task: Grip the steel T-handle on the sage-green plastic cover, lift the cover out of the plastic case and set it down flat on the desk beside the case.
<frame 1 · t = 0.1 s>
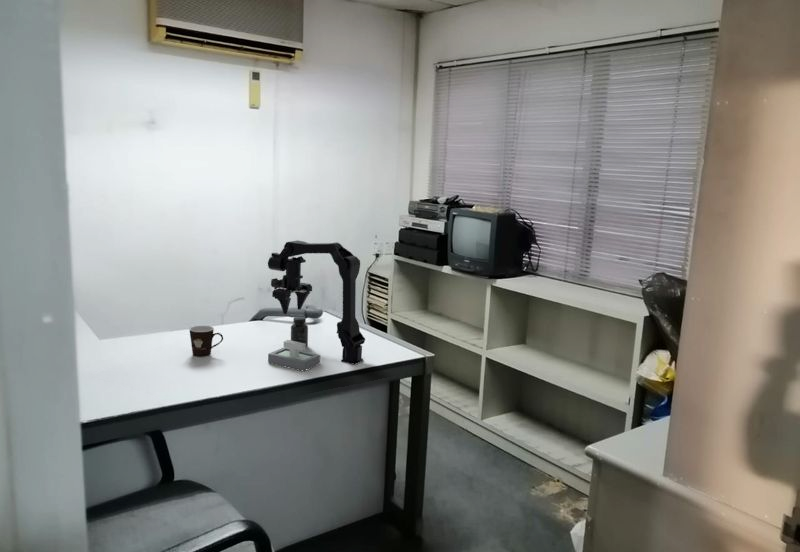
hand: (292, 311, 238), 15 cm above the table, tool pointing down, fingers open, 9 cm apart
case: (294, 363, 223), on the table
cover: (294, 358, 222), point 2 cm above the table, touching case
supplement bottle: (298, 347, 242), on the table
coffee mug: (204, 355, 226), on the table
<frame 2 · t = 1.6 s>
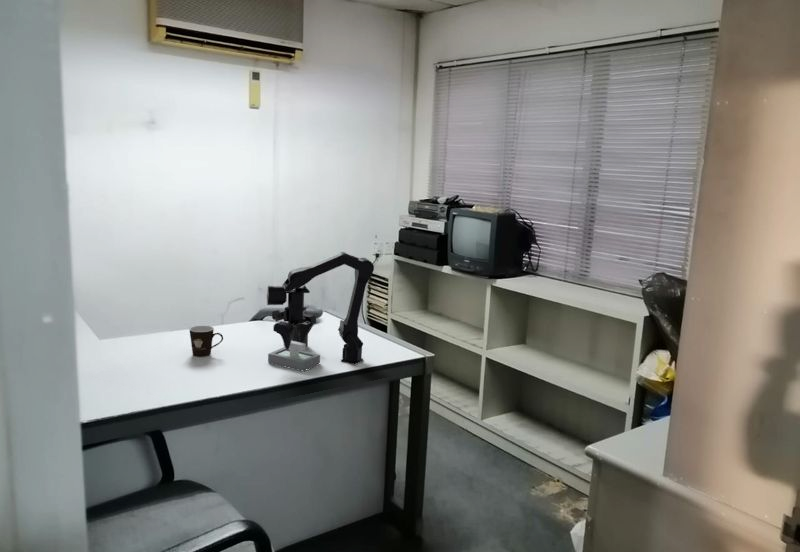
hand: (294, 345, 221), 7 cm above the table, tool pointing down, fingers open, 9 cm apart
nothing on the table moved.
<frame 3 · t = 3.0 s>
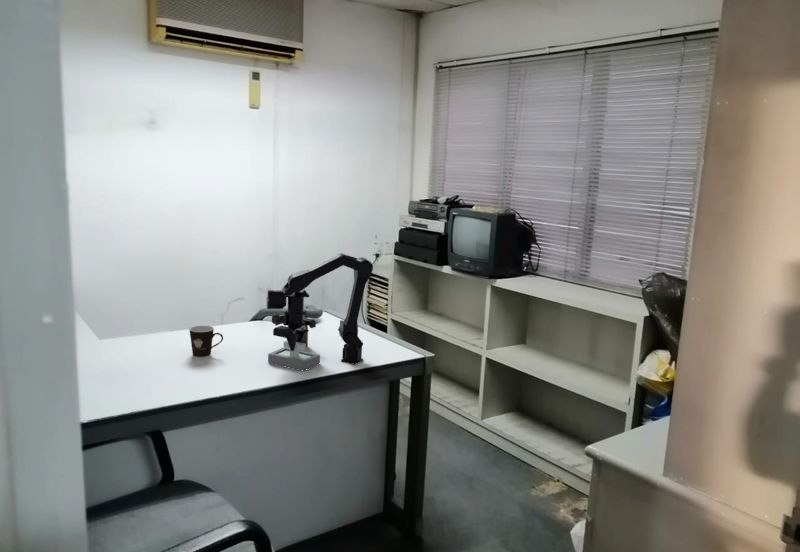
hand: (294, 349, 222), 5 cm above the table, tool pointing down, fingers closed on cover, 2 cm apart
cover: (294, 358, 222), point 2 cm above the table, touching case, gripper
everything else where it was.
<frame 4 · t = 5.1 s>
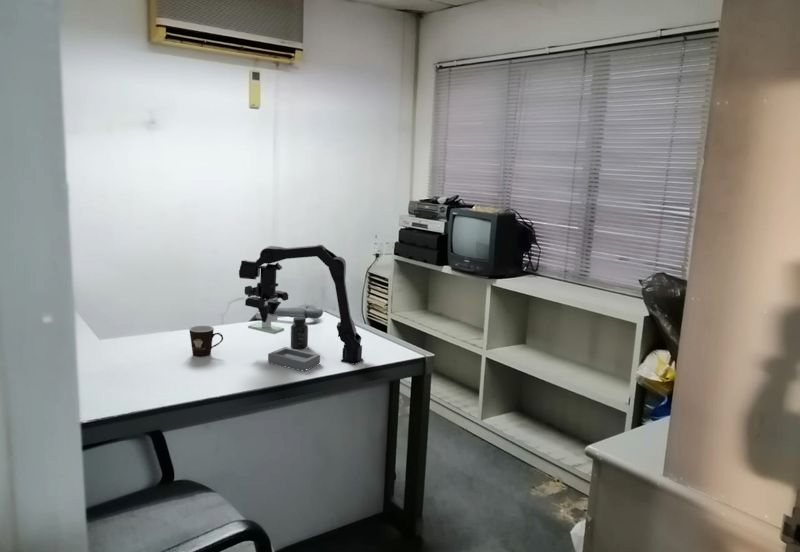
hand: (266, 321, 226), 14 cm above the table, tool pointing down, fingers closed on cover, 2 cm apart
cover: (266, 329, 227), point 10 cm above the table, touching gripper
everything else where it was.
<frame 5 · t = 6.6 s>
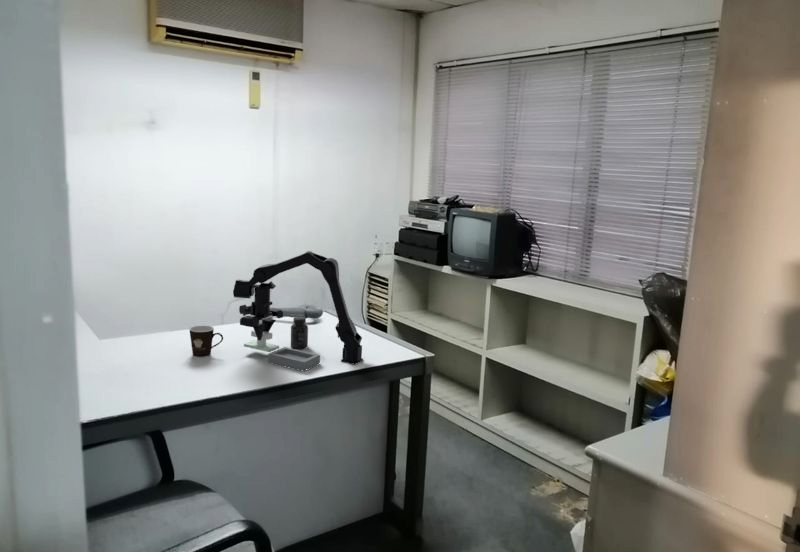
hand: (261, 339, 229), 6 cm above the table, tool pointing down, fingers closed on cover, 2 cm apart
cover: (261, 347, 230), point 3 cm above the table, touching gripper
everything else where it was.
when the fingers open (5 cm above the table, at t = 7.5 s): cover drops 2 cm, on the table.
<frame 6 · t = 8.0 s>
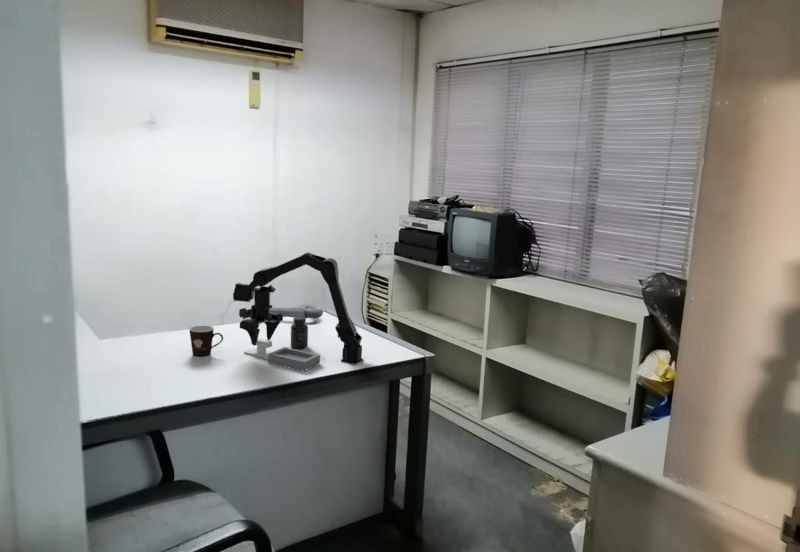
hand: (261, 342, 229), 5 cm above the table, tool pointing down, fingers open, 8 cm apart
cover: (261, 355, 230), on the table
everything else where it was.
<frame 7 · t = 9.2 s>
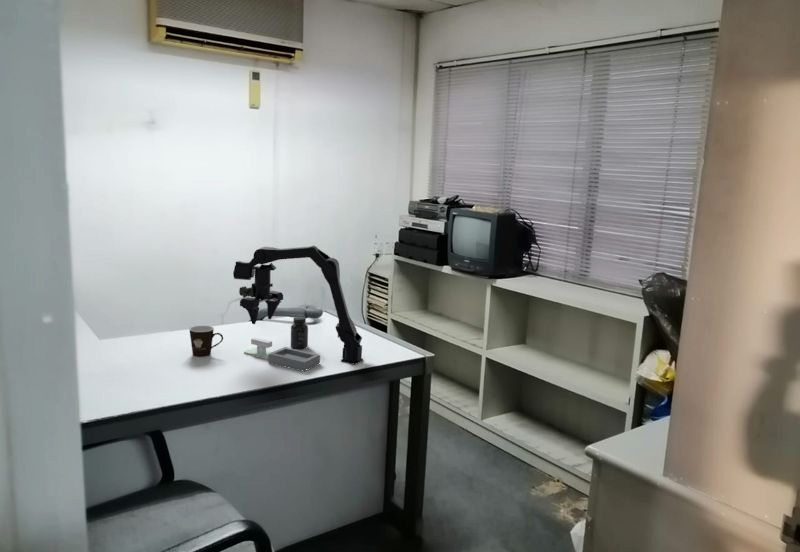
hand: (261, 321, 228), 13 cm above the table, tool pointing down, fingers open, 9 cm apart
nothing on the table moved.
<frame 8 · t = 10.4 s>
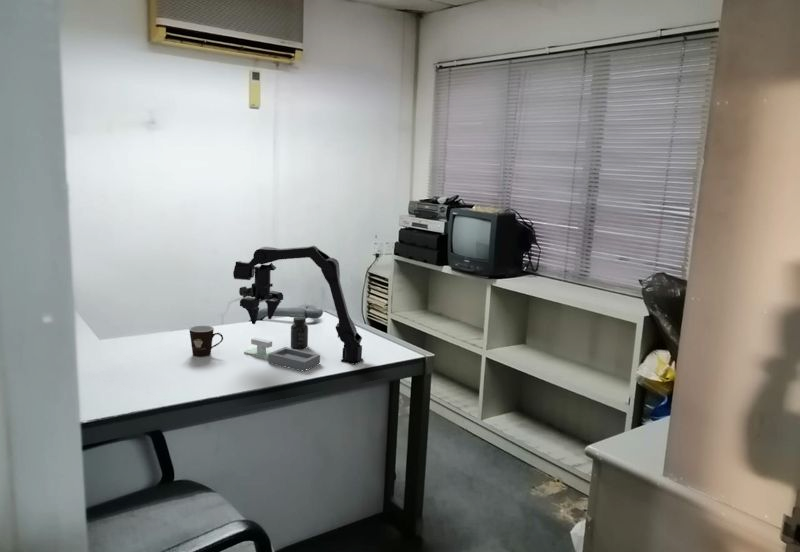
hand: (261, 321, 228), 13 cm above the table, tool pointing down, fingers open, 9 cm apart
nothing on the table moved.
at the end: cover inside the target area (0.0 cm from its centre), on the table; cover touching table; cover tilted 0° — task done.
